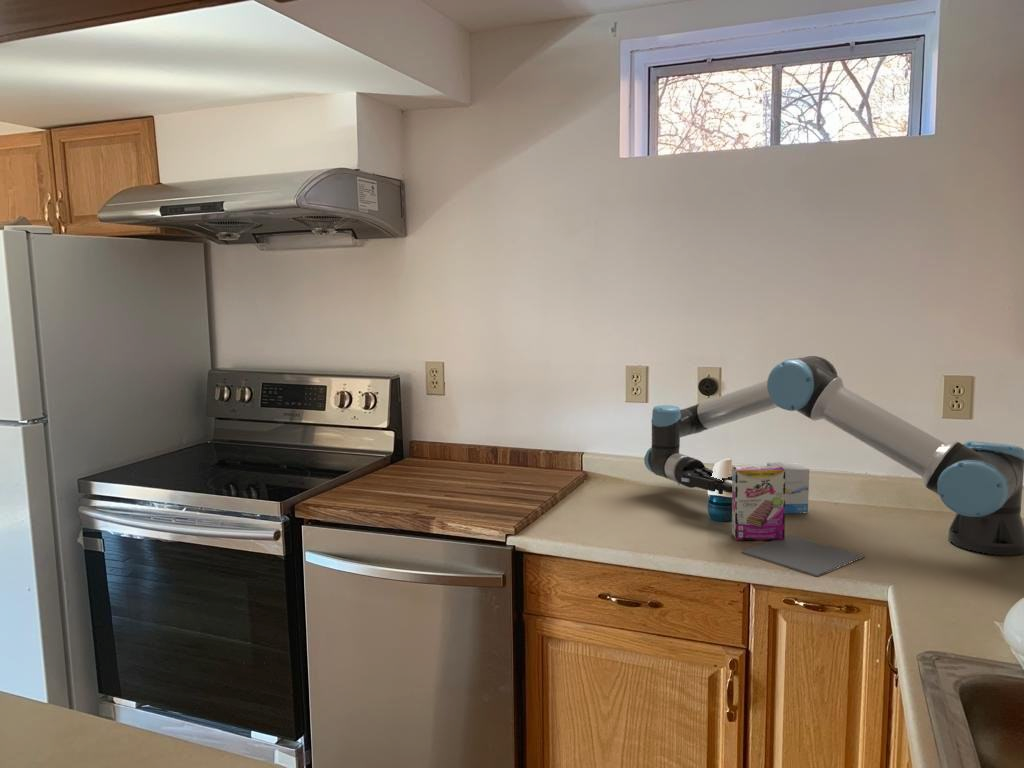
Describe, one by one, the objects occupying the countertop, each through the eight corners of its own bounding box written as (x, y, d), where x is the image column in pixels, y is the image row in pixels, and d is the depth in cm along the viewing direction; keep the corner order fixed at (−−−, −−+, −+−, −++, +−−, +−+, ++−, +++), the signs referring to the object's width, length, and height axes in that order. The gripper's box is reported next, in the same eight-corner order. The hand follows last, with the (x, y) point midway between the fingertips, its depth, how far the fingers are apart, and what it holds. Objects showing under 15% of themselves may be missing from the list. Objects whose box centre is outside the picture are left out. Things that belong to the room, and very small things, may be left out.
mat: (864, 557, 165) (864, 555, 165) (817, 576, 154) (817, 575, 154) (789, 536, 179) (789, 534, 179) (741, 552, 168) (741, 551, 168)
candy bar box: (735, 541, 176) (734, 469, 174) (731, 534, 181) (730, 465, 179) (786, 540, 175) (786, 469, 173) (780, 534, 180) (780, 464, 178)
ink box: (808, 513, 197) (810, 469, 195) (775, 514, 197) (776, 469, 196) (797, 504, 205) (798, 461, 204) (764, 504, 206) (766, 461, 204)
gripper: (706, 482, 206) (766, 504, 184) (664, 487, 201) (720, 511, 179) (706, 454, 205) (767, 473, 183) (664, 458, 200) (721, 479, 178)
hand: (744, 492), depth 181 cm, fingers closed
